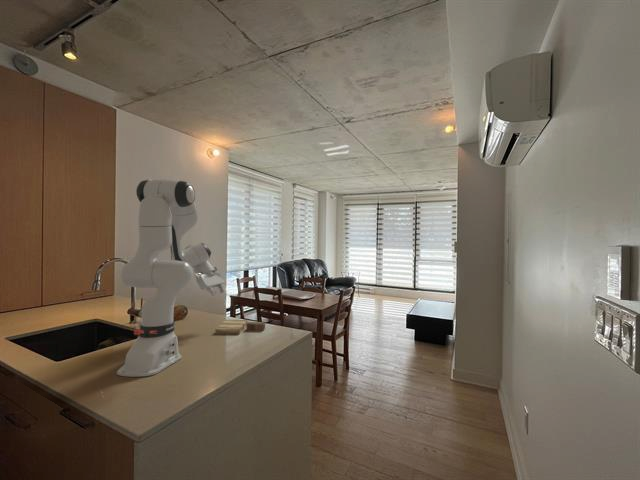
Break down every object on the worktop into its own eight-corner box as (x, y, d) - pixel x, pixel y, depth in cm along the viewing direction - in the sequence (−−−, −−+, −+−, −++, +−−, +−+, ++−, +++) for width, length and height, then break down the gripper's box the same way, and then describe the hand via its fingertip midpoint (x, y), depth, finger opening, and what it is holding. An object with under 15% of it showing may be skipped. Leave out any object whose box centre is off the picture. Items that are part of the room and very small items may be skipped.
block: (246, 330, 151) (263, 331, 151) (246, 324, 151) (263, 324, 151) (248, 328, 154) (265, 328, 154) (248, 322, 154) (265, 322, 154)
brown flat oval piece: (161, 324, 160) (161, 308, 160) (159, 323, 162) (159, 308, 162) (188, 318, 172) (188, 304, 172) (185, 317, 174) (185, 303, 174)
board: (239, 334, 145) (239, 329, 145) (215, 333, 145) (215, 328, 145) (247, 324, 161) (247, 320, 161) (226, 324, 161) (226, 319, 161)
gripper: (199, 269, 144) (213, 293, 142) (218, 267, 164) (231, 287, 162) (189, 277, 144) (203, 300, 143) (210, 273, 164) (223, 294, 163)
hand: (219, 293), depth 153 cm, fingers open, 8 cm apart
